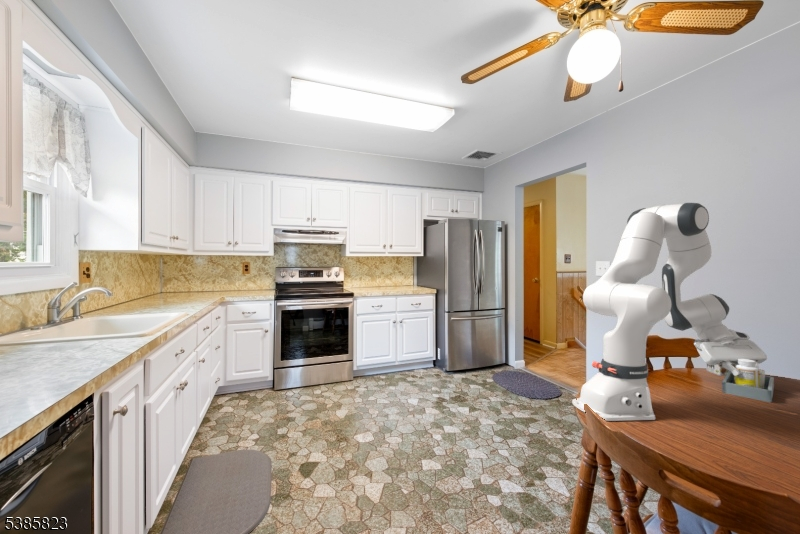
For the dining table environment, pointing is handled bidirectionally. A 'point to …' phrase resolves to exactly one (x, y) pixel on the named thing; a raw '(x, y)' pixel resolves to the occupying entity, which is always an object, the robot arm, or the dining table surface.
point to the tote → (748, 388)
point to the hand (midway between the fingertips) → (748, 374)
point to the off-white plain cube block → (760, 380)
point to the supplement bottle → (747, 373)
